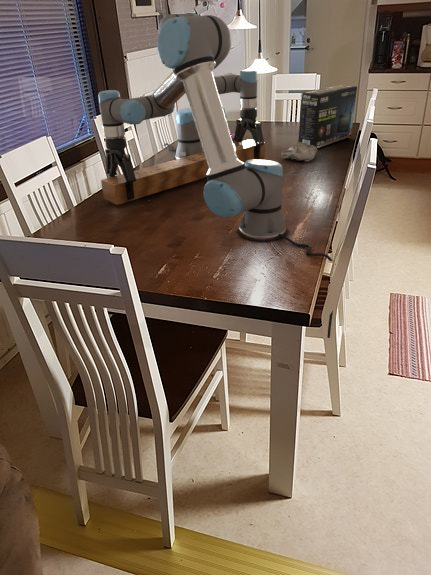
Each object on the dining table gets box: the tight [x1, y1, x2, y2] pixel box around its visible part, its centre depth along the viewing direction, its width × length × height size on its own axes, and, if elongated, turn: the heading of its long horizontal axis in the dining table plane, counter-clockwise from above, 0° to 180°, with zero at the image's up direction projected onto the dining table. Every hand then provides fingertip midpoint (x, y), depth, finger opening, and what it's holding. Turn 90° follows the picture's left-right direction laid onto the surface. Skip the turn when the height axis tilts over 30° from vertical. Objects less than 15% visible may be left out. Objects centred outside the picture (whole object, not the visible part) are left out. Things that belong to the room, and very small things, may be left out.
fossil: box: [280, 141, 318, 163], centre depth 221 cm, size 18×11×15 cm
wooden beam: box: [100, 139, 266, 206], centre depth 195 cm, size 81×10×8 cm, turn 132°
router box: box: [297, 84, 358, 147], centre depth 238 cm, size 36×11×27 cm, turn 134°
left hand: (248, 158), depth 216 cm, fingers closed on wooden beam, 10 cm apart
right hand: (123, 195), depth 178 cm, fingers closed on wooden beam, 10 cm apart
